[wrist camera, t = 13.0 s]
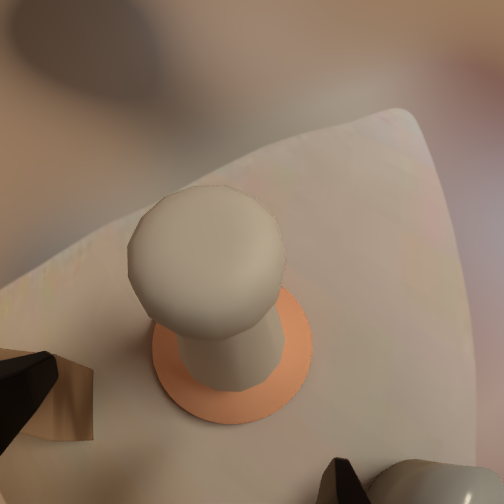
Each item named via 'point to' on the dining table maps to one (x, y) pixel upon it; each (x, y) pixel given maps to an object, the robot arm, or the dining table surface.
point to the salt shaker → (213, 282)
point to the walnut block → (63, 403)
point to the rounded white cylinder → (436, 484)
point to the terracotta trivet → (248, 401)
